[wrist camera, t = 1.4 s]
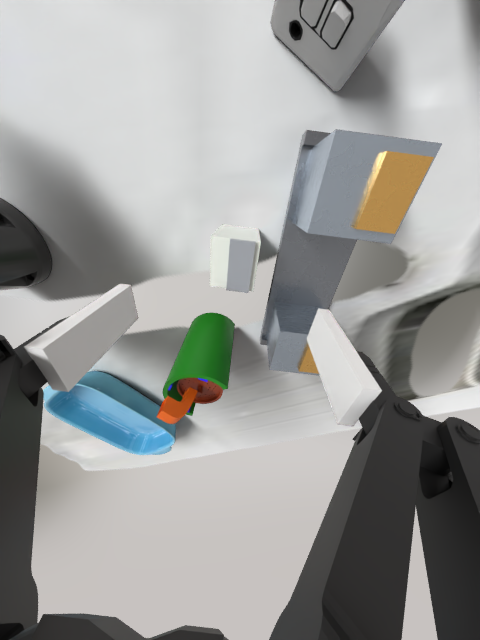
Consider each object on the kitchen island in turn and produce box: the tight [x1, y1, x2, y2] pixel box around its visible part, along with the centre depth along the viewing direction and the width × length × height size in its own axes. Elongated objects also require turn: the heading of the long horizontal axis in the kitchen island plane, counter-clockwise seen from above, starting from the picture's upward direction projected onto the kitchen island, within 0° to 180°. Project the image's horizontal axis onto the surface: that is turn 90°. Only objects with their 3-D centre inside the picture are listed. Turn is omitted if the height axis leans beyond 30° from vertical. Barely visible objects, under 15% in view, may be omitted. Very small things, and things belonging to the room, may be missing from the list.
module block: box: [210, 224, 261, 293], centre depth 27 cm, size 6×6×11 cm
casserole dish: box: [43, 371, 176, 455], centre depth 55 cm, size 37×22×7 cm, turn 39°
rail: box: [260, 129, 442, 375], centre depth 28 cm, size 11×32×11 cm, turn 174°
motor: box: [157, 313, 235, 424], centre depth 33 cm, size 10×9×20 cm
